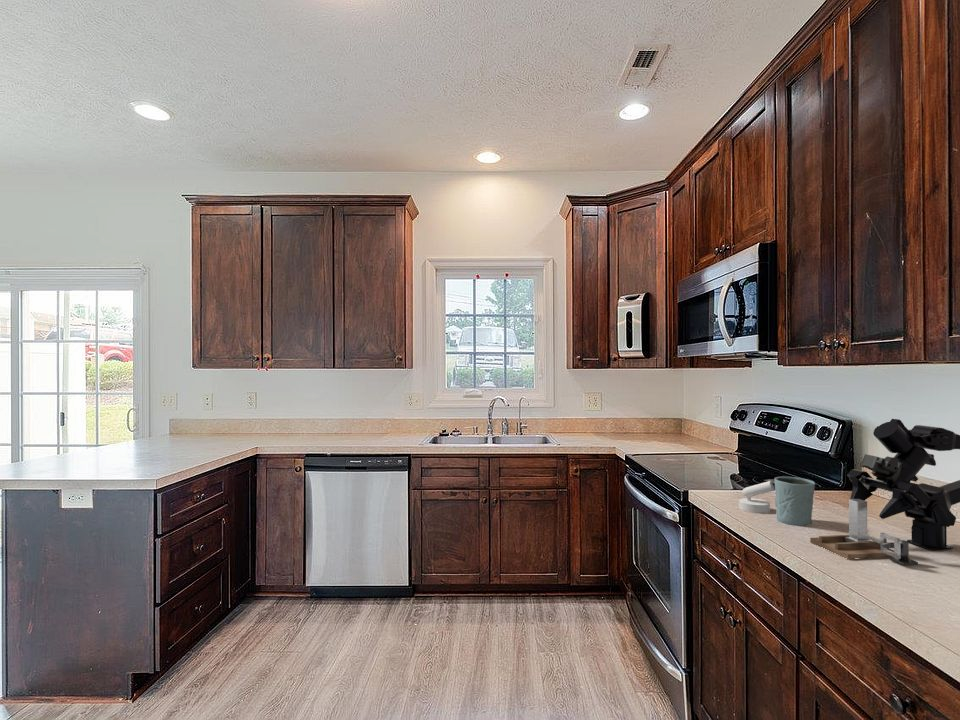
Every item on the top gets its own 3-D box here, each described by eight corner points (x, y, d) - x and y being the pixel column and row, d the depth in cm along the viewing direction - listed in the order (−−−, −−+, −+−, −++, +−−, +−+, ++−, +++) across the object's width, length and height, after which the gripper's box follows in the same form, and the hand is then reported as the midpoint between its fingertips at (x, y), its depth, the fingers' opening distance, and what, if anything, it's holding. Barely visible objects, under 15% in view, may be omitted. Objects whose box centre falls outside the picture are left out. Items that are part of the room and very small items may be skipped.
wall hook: (771, 484, 160) (735, 479, 166) (771, 515, 160) (735, 510, 166) (777, 479, 167) (742, 474, 173) (777, 509, 167) (742, 504, 173)
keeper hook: (903, 559, 124) (903, 538, 124) (918, 564, 121) (917, 543, 121) (876, 560, 124) (876, 539, 124) (890, 566, 120) (889, 544, 120)
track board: (856, 540, 137) (856, 530, 137) (898, 557, 125) (898, 546, 125) (810, 542, 136) (810, 532, 136) (847, 559, 124) (847, 548, 124)
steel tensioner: (859, 540, 133) (859, 498, 133) (907, 559, 120) (906, 512, 120) (844, 541, 132) (844, 498, 133) (890, 560, 120) (890, 513, 120)
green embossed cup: (776, 514, 161) (776, 475, 161) (816, 520, 155) (816, 479, 155) (772, 523, 153) (772, 481, 153) (814, 529, 147) (813, 485, 147)
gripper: (853, 438, 141) (815, 481, 140) (918, 449, 123) (875, 499, 121) (880, 467, 142) (843, 510, 141) (949, 482, 123) (907, 532, 122)
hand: (864, 512), depth 131 cm, fingers open, 9 cm apart
